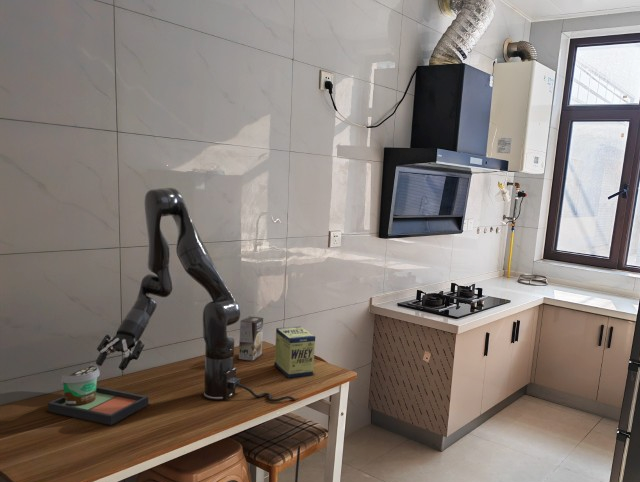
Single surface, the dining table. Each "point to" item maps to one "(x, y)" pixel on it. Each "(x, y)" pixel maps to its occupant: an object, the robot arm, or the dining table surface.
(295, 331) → the protein box
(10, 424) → the dining table surface
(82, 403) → the food container
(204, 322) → the robot arm
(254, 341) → the coffee box
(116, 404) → the sorting tray
